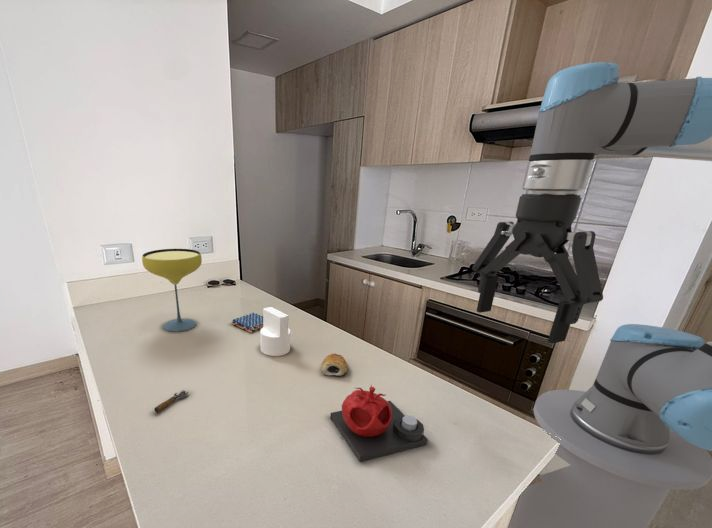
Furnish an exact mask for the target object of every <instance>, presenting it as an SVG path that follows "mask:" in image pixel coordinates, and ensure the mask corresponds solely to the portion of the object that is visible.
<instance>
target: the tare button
mask: <svg viewBox="0 0 712 528" xmlns="http://www.w3.org/2000/svg"><path fill="white" fill-rule="evenodd" d="M416 419H417V418H415V417H414V416H411V415H405V416H404V417H403V419H402V424H401V425H402V427H403V428H404V429H406V430H409V431H414V430H415V429H416V426H417V420H418V419H417V420H416Z"/></svg>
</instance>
